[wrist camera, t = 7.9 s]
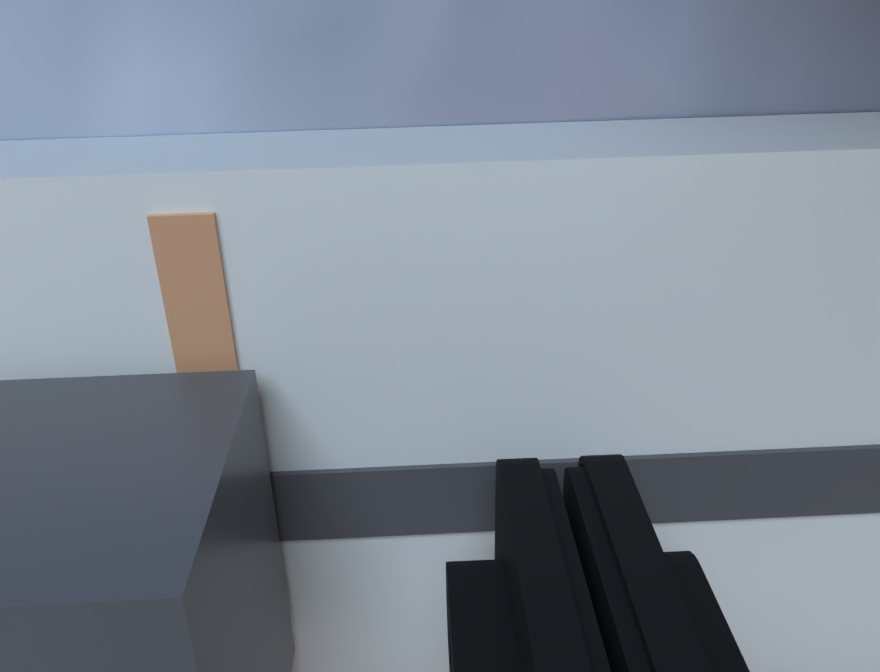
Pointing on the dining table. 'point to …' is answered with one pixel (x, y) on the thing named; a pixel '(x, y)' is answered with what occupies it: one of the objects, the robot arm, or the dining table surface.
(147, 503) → the fader knob
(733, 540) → the console
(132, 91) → the dining table surface
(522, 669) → the robot arm
